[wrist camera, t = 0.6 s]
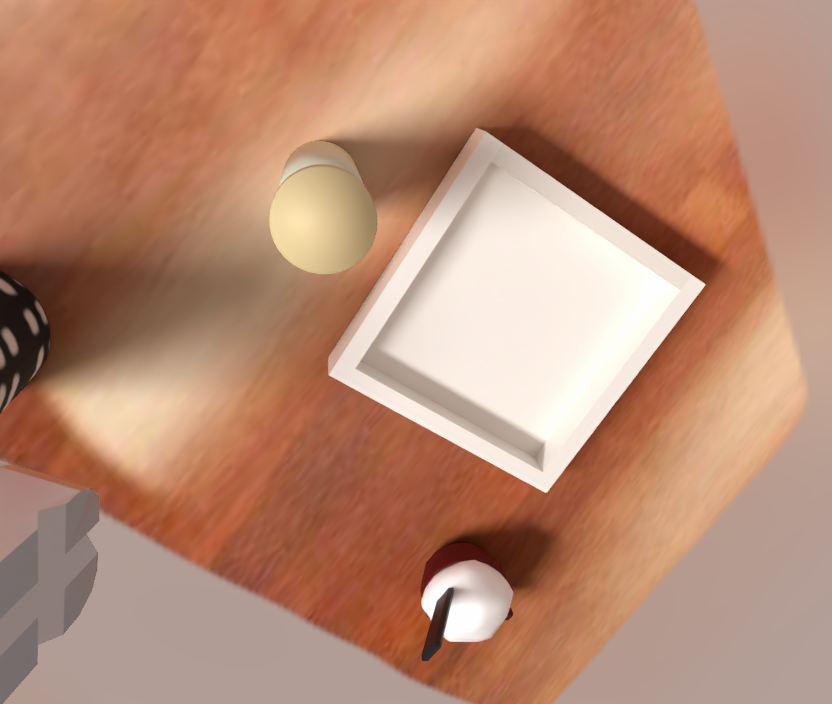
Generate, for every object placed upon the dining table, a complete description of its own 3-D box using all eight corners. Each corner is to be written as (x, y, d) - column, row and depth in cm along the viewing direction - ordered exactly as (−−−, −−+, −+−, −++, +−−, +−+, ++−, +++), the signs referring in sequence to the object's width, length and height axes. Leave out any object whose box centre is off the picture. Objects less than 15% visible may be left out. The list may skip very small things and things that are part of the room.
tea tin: (306, 123, 45) (304, 146, 33) (375, 167, 47) (397, 205, 35) (266, 192, 47) (249, 239, 34) (334, 233, 48) (341, 293, 36)
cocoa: (514, 580, 60) (570, 701, 49) (445, 620, 60) (485, 750, 49) (457, 494, 56) (504, 604, 45) (383, 538, 56) (412, 658, 45)
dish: (476, 127, 47) (486, 131, 44) (684, 272, 52) (705, 284, 49) (327, 357, 51) (328, 375, 48) (534, 471, 56) (546, 493, 53)
